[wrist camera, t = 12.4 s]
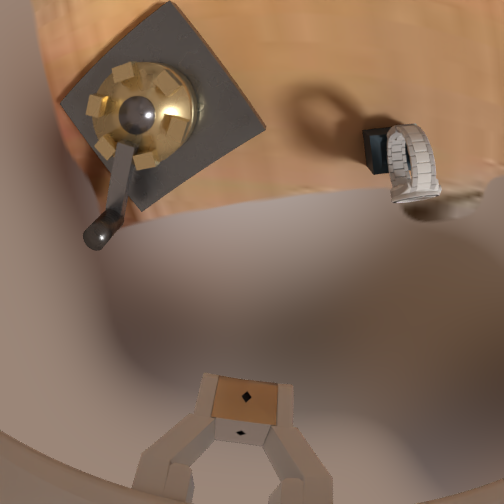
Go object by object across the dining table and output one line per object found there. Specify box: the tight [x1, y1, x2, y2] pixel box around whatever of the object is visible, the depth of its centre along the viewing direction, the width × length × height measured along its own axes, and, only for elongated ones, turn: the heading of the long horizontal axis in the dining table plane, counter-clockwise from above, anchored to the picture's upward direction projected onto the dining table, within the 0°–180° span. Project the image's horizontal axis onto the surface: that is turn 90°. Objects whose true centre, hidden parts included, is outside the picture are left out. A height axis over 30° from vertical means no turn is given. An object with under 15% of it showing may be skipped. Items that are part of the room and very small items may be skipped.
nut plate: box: [60, 1, 266, 212], centre depth 32 cm, size 18×18×2 cm
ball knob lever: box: [83, 61, 198, 250], centre depth 29 cm, size 19×11×9 cm, turn 159°
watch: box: [362, 124, 441, 203], centre depth 28 cm, size 6×8×11 cm
